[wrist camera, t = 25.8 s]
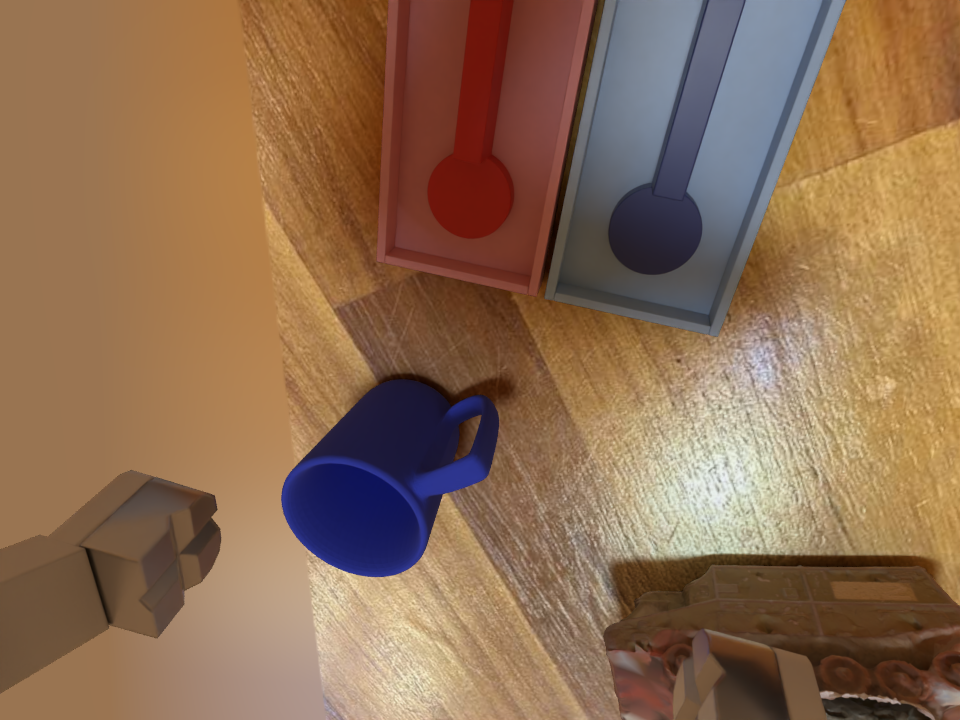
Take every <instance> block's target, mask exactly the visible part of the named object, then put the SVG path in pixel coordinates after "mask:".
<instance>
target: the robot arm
mask: <svg viewBox="0 0 960 720" xmlns="http://www.w3.org/2000/svg"><path fill="white" fill-rule="evenodd" d="M216 511H217V504H216V499H215V496H214V495H212V494H209V493H206V492H203V491H200V490H196V489H193V488H190V487H187V486H183V485H180V484H177V483H174V482H170V481H167V480H164V479H160V478H157V477H153V476H150V475H146V474H143V473H139V472H136V471H133V470H130V471H128V472H125V473H122V474H120V475H119V476H117V477H116V478H115V479H114V480H113V481H112V482H110V483H109V484H108V485H107V486H106V487H105V488H104V489H102V490H101V491H100V492H99V493H98V494H97V495H95V496H94V497H93V498H92V499H91V500H90V501H89V502H87V503H86V504H85V505H84V506H83V507H82V508H80V509H79V510H78V511H77V512H76V513H75V514H74V515H72V516H71V517H70V518H69V519H68V520H67V521H65V522H64V523H63V524H62V525H61V526H60V527H59V528H57V529H56V530H55V531H54V532H53V533H52V534H50V535H49V536H48V537H46V536H42V535H38V536H35V537H32V538H30V539H27V540H24V541H22V542H19V543H16V544H14V545H11V546H8V547H5V548H3V549H0V693H2V692H4V691H5V690H7V689H9V688H10V687H12V686H14V685H15V684H17V683H19V682H20V681H22V680H24V679H25V678H27V677H29V676H30V675H32V674H34V673H36V672H37V671H39V670H40V669H42V668H44V667H46V666H47V665H49V664H51V663H52V662H54V661H56V660H57V659H59V658H61V657H62V656H64V655H66V654H67V653H69V652H70V651H72V650H74V649H76V648H77V647H79V646H81V645H82V644H84V643H86V642H87V641H89V640H91V639H92V638H94V637H96V636H97V635H99V634H101V633H102V632H104V631H106V630H107V629H109V625H111V626H114V627H118V628H121V629H125V630H129V631H132V632H136V633H139V634H143V635H147V636H150V637H154V638H158V637H159V636H160V634H161V633H162V632H163V631H164V629H165V628H166V627H167V626H168V624H169V623H170V622H171V621H172V619H173V618H174V617H175V615H176V614H177V613H178V612H179V610H180V609H181V608H182V607H183V605H184V591H185V590H187V589H189V588H191V587H193V586H195V585H197V584H199V583H201V582H202V581H203V579H204V578H205V577H206V576H207V574H208V573H209V572H210V570H211V569H212V567H213V565H214V562H215V560H216V558H217V556H218V554H219V551H220V544H221V533H220V528H219V527H218V525H217V524H216V523H215V522H214V520H213V519H212V518H211V517H212V516H213V514H214V513H215V512H216ZM692 648H693V656H691V657H688V658H686V659H684V660H683V661H682V664H681V666H680V668H679V670H678V673H677V676H676V681H675V686H674V691H673V720H827V717H826V714H825V710H824V706H823V703H822V699H821V696H820V692H819V688H818V685H817V681H816V678H815V674H814V670H813V667H812V664H811V662H810V661H809V659H808V658H807V657H806V656H803V655H800V654H796V653H792V652H789V651H785V650H781V649H778V648H774V647H769V646H768V645H766V644H762V643H758V642H754V641H750V640H746V639H743V638H739V637H735V636H731V635H727V634H724V633H720V632H716V631H712V630H708V629H704V628H702V629H701V630H699V631H698V632H697V634H696V635H695V637H694V639H693V641H692Z"/></svg>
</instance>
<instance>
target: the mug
mask: <svg viewBox="0 0 960 720" xmlns="http://www.w3.org/2000/svg"><path fill="white" fill-rule="evenodd" d="M478 415H482V417H481V421H480V425H479V428H478V431H477V434H476V437H475V440H474V443H473V446H472V449H471V451H470V453H469V454H468V455H467V456H465V457H463V458H461V459H459V460H456V461H454V462H453V460H454V457H455V454H456V451H457V447H458V442H459V426H458V425H459V424H460V423H462V422H464V421H466V420H468V419H470V418H472V417H475V416H478ZM498 429H499V417H498V412H497V410H496V408H495V406H494V404H493V402H492V401H491V400H490V399H489V398H488V397H486V396H484V395H475V396H471V397H468V398H466V399H464V400H462V401H460V402H458V403H456V404H455V405H453V406H452V407H451V406H450V404H449V403H448V401H447V400H446V399H445V398H444V397H443V396H442V395H441V394H440V393H439V392H437V391H436V390H435V389H433V388H431V387H430V386H428V385H426V384H423V383H420V382H417V381H413V380H406V379H398V380H391V381H387V382H384V383H382V384H380V385H378V386H376V387H374V388H373V389H371V390H370V391H369V392H368V393H366V394H365V395H364V396H363V397H362V398H361V399H360V400H359V401H358V402H357V403H356V404H355V406H354V407H353V408H352V409H351V410H350V411H349V412H348V413H347V414H346V415H345V416H344V417H343V418H342V419H341V420H340V421H339V422H338V423H337V424H336V425H335V426H334V427H333V428H332V429H331V430H330V431H329V432H328V433H327V434H326V436H325V437H324V438H323V439H322V440H321V441H320V442H319V443H318V444H317V445H316V446H315V447H314V448H313V449H312V450H311V451H310V452H309V453H308V454H307V455H306V456H305V457H304V458H303V459H302V460H301V461H300V462H299V463H298V465H297V466H296V467H295V468H294V469H293V470H292V471H291V472H290V474H289V475H288V477H287V478H286V480H285V482H284V485H283V489H282V497H281V501H282V507H283V512H284V515H285V518H286V520H287V523H288V524H289V526H290V528H291V530H292V531H293V533H294V534H295V536H296V537H297V538H298V539H299V540H300V542H301V543H302V544H303V545H304V546H305V547H306V548H307V549H308V550H310V551H311V552H312V553H313V554H315V555H316V556H317V557H318V558H320V559H322V560H323V561H325V562H326V563H328V564H330V565H332V566H334V567H336V568H338V569H341V570H343V571H346V572H349V573H352V574H356V575H361V576H367V577H386V576H391V575H396V574H399V573H401V572H404V571H406V570H407V569H409V568H411V567H412V566H413V565H415V564H416V563H417V562H418V560H419V559H420V558H421V557H422V555H423V553H424V551H425V549H426V546H427V543H428V540H429V537H430V534H431V530H432V527H433V524H434V521H435V518H436V514H437V511H438V508H439V505H440V502H441V499H442V495H443V494H445V493H449V492H453V491H456V490H459V489H462V488H465V487H468V486H470V485H473V484H475V483H477V482H480V481H482V480H484V479H485V478H486V477H487V476H488V474H489V471H490V468H491V464H492V460H493V456H494V452H495V447H496V442H497V437H498Z"/></svg>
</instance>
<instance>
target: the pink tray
mask: <svg viewBox="0 0 960 720" xmlns="http://www.w3.org/2000/svg"><path fill="white" fill-rule="evenodd" d="M597 5H598V0H514V2H513V9H512V16H511V23H510V30H509V37H508V44H507V51H506V58H505V65H504V72H503V79H502V86H501V93H500V99H499V106H498V113H497V120H496V127H495V134H494V141H493V148H492V155H493V156H495V157H496V158H497V159H499V160H500V161H501V162H502V163H503V165H504V166H505V167H506V168H507V170H508V172H509V174H510V176H511V178H512V182H513V186H514V202H513V206H512V209H511V212H510V214H509V215H508V217H507V218H506V220H505V221H504V223H503V224H502V225H501V226H500V227H499V228H498V229H497V230H496V231H495V232H493V233H492V234H490V235H488V236H485V237H482V238H477V239H467V238H462V237H458V236H456V235H454V234H452V233H450V232H448V231H447V230H446V229H444V228H443V227H442V226H441V225H440V224H439V223H438V221H437V220H436V219H435V217H434V215H433V213H432V211H431V209H430V206H429V202H428V195H427V189H428V182H429V179H430V176H431V174H432V172H433V170H434V169H435V167H436V166H437V165H438V164H439V163H440V162H441V161H442V160H443V159H444V158H446V157H447V156H449V155H451V154H452V153H453V150H454V142H455V133H456V124H457V115H458V106H459V97H460V88H461V79H462V70H463V62H464V53H465V44H466V35H467V26H468V17H469V8H470V0H388V22H387V43H386V65H385V87H384V109H383V130H382V152H381V174H380V195H379V217H378V239H377V262H381V263H386V264H390V265H395V266H399V267H404V268H408V269H413V270H417V271H422V272H426V273H431V274H435V275H440V276H445V277H449V278H454V279H458V280H463V281H467V282H472V283H476V284H481V285H485V286H490V287H494V288H499V289H503V290H508V291H512V292H517V293H521V294H526V295H527V294H528V295H530V296H535V297H536V296H537V294H538V292H539V289H540V287H541V284H542V281H543V276H544V271H545V266H546V261H547V256H548V251H549V246H550V241H551V236H552V231H553V226H554V221H555V216H556V211H557V206H558V201H559V196H560V191H561V186H562V181H563V176H564V171H565V166H566V161H567V156H568V151H569V146H570V141H571V136H572V131H573V126H574V121H575V116H576V111H577V106H578V101H579V95H580V90H581V85H582V80H583V75H584V70H585V65H586V60H587V55H588V50H589V45H590V40H591V35H592V30H593V25H594V20H595V15H596V10H597Z"/></svg>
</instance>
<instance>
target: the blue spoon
mask: <svg viewBox="0 0 960 720" xmlns="http://www.w3.org/2000/svg"><path fill="white" fill-rule="evenodd" d="M745 2H746V0H703V3H702V6H701V10H700V14H699V17H698V21H697V24H696V28H695V31H694V35H693V38H692V42H691V46H690V49H689V53H688V56H687V60H686V63H685V67H684V70H683V74H682V78H681V81H680V85H679V88H678V92H677V95H676V99H675V102H674V106H673V110H672V113H671V117H670V120H669V124H668V127H667V131H666V134H665V138H664V142H663V145H662V149H661V152H660V156H659V159H658V163H657V166H656V170H655V174H654V177H653V181H652V183H647V184H643V185H640V186H638V187H636V188H634V189H632V190H631V191H629V192H628V193H626V194H625V195H624V196H623V197H622V198H621V199H620V201H619V202H618V203H617V205H616V206H615V208H614V210H613V212H612V215H611V218H610V223H609V229H608V237H609V243H610V247H611V249H612V252H613V253H614V255H615V257H616V258H617V259H618V260H619V261H620V262H621V263H622V264H623V265H624V266H625V267H627V268H628V269H630V270H632V271H634V272H637V273H641V274H646V275H660V274H665V273H668V272H671V271H673V270H675V269H677V268H679V267H681V266H682V265H683V264H685V263H686V262H687V261H688V260H689V259H690V258H691V257H692V256H693V254H694V253H695V251H696V250H697V248H698V246H699V243H700V241H701V237H702V230H703V228H702V218H701V215H700V212H699V208H698V206H697V204H696V202H695V201H694V199H693V198H692V197H691V196H690V195H689V194H688V193H687V192H686V191H687V188H688V184H689V181H690V178H691V175H692V172H693V168H694V165H695V162H696V159H697V156H698V152H699V149H700V146H701V143H702V140H703V136H704V133H705V130H706V127H707V124H708V120H709V117H710V114H711V111H712V108H713V104H714V101H715V98H716V95H717V92H718V88H719V85H720V82H721V79H722V76H723V72H724V69H725V66H726V63H727V60H728V56H729V53H730V50H731V47H732V44H733V40H734V37H735V34H736V31H737V28H738V24H739V21H740V18H741V15H742V12H743V8H744V5H745Z"/></svg>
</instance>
